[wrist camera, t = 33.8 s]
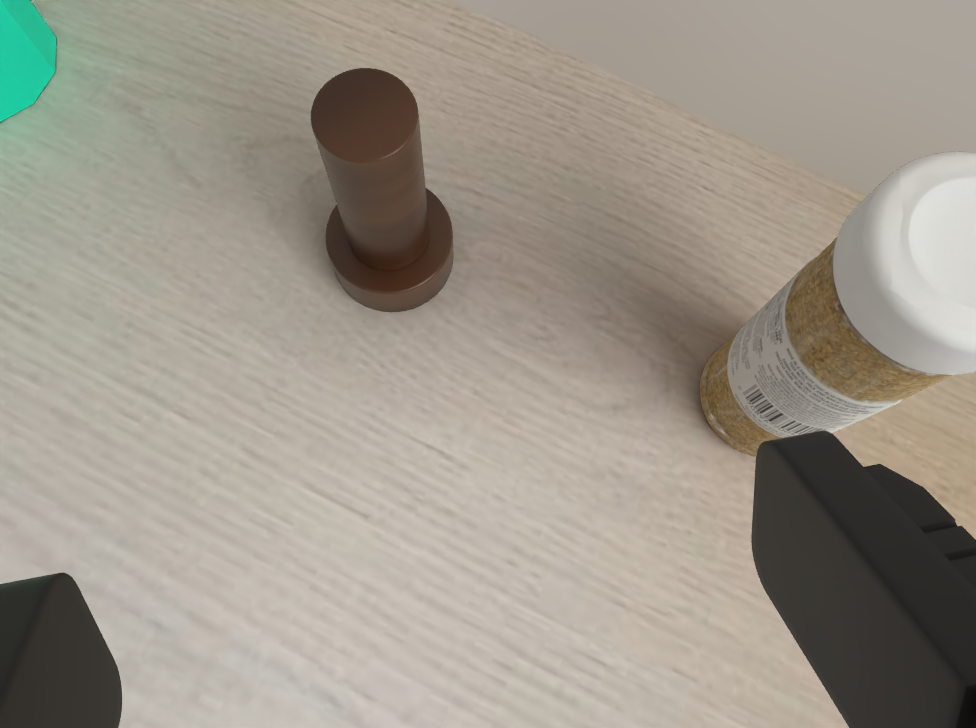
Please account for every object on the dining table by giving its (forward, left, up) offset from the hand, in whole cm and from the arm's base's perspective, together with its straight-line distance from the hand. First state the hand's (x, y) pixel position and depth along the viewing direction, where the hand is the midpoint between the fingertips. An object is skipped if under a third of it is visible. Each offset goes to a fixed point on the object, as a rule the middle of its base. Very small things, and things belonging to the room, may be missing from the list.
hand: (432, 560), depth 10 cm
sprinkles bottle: (-2, -12, -19) cm, 23 cm away
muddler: (+10, -6, -19) cm, 22 cm away
